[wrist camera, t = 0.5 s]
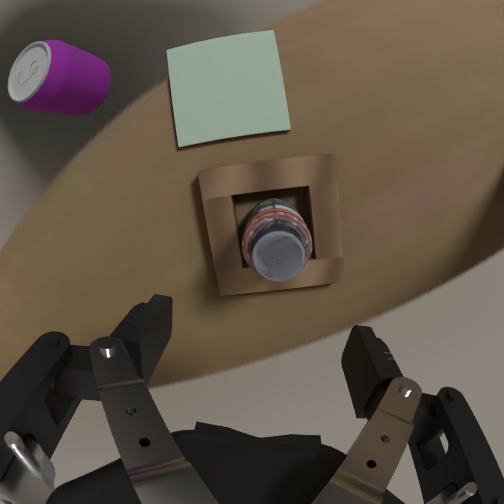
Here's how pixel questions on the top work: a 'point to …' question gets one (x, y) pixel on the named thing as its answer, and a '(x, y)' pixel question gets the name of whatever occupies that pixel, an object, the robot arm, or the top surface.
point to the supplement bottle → (276, 240)
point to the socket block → (269, 178)
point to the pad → (227, 88)
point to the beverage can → (58, 79)
